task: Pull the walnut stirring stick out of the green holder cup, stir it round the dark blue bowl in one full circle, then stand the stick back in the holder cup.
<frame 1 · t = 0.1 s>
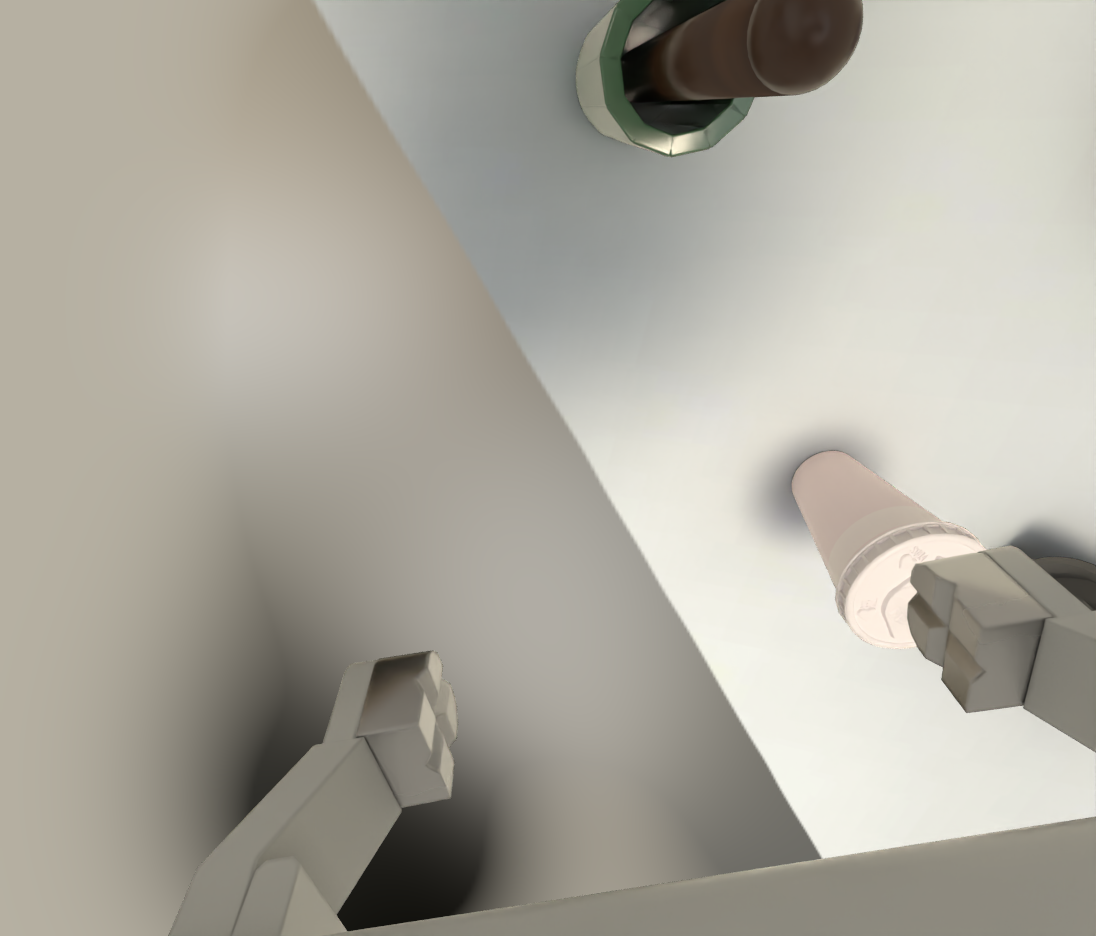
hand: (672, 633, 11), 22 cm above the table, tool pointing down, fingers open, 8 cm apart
bluetooth speaker: (1093, 630, 42), on the table
smoothie: (823, 478, 36), on the table
holder: (632, 77, 26), on the table
stick: (635, 76, 25), point 1 cm above the table, touching holder
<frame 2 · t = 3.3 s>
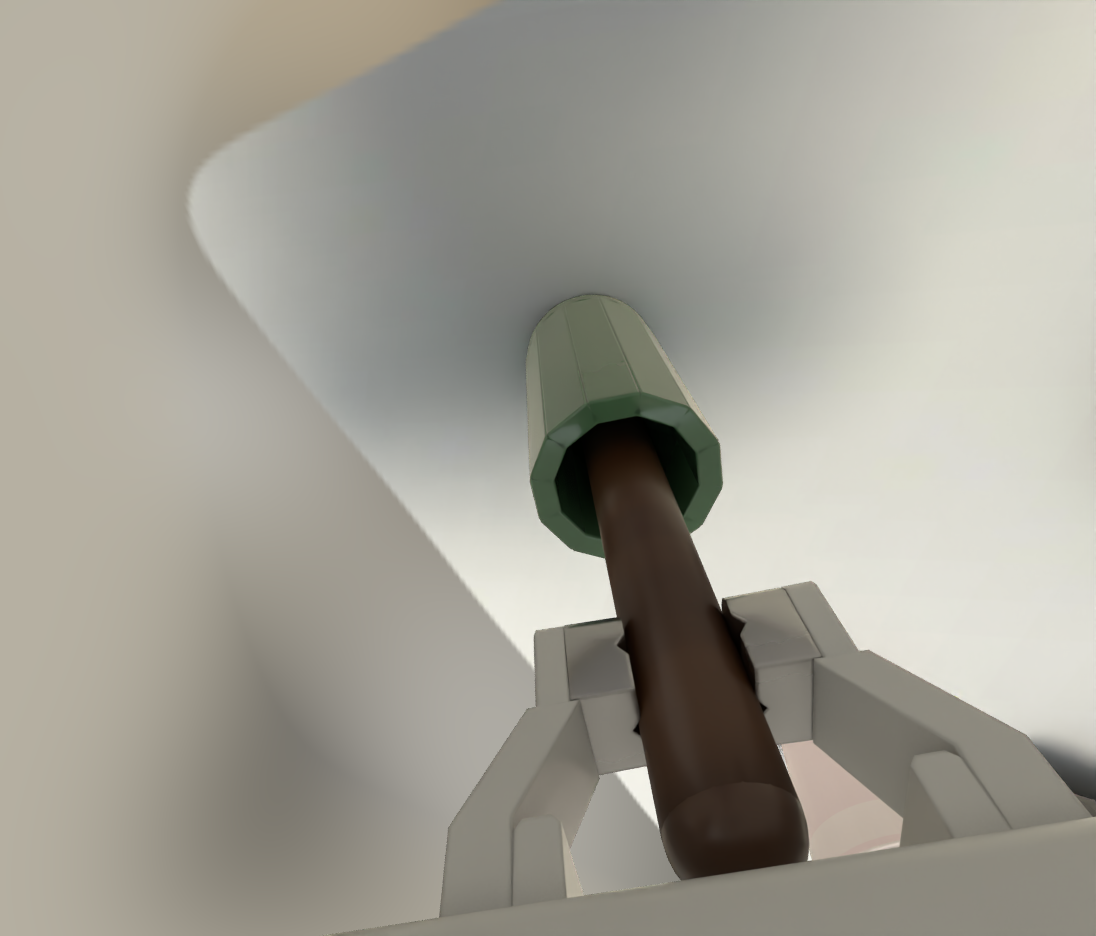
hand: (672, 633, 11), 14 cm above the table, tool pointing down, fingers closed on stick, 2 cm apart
smoothie: (807, 703, 33), on the table
holder: (590, 357, 23), on the table
stick: (591, 363, 23), point 1 cm above the table, touching gripper, holder
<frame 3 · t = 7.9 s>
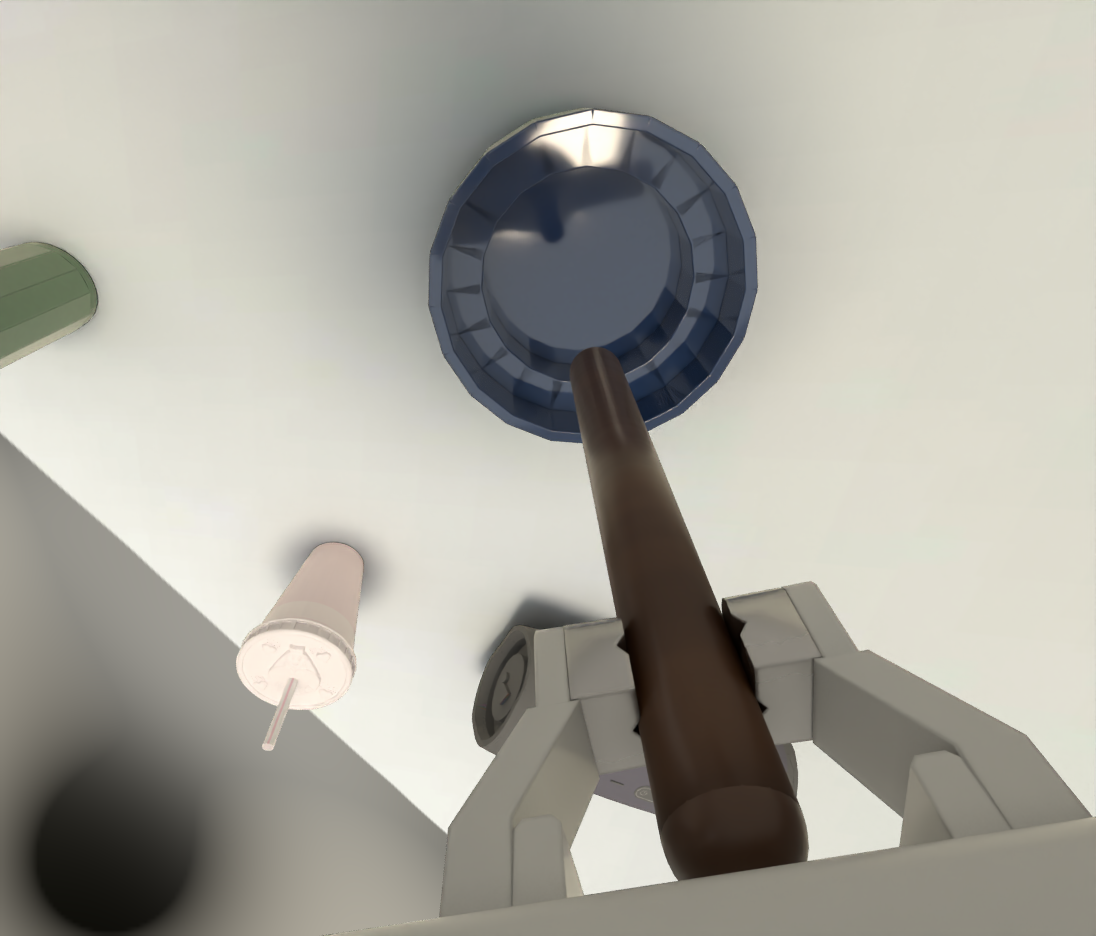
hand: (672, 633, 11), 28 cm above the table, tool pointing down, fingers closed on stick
bluetooth speaker: (626, 676, 51), on the table
smoothie: (337, 562, 44), on the table
holder: (50, 286, 34), on the table
stick: (592, 364, 23), point 14 cm above the table, touching gripper
bowl: (582, 269, 35), on the table
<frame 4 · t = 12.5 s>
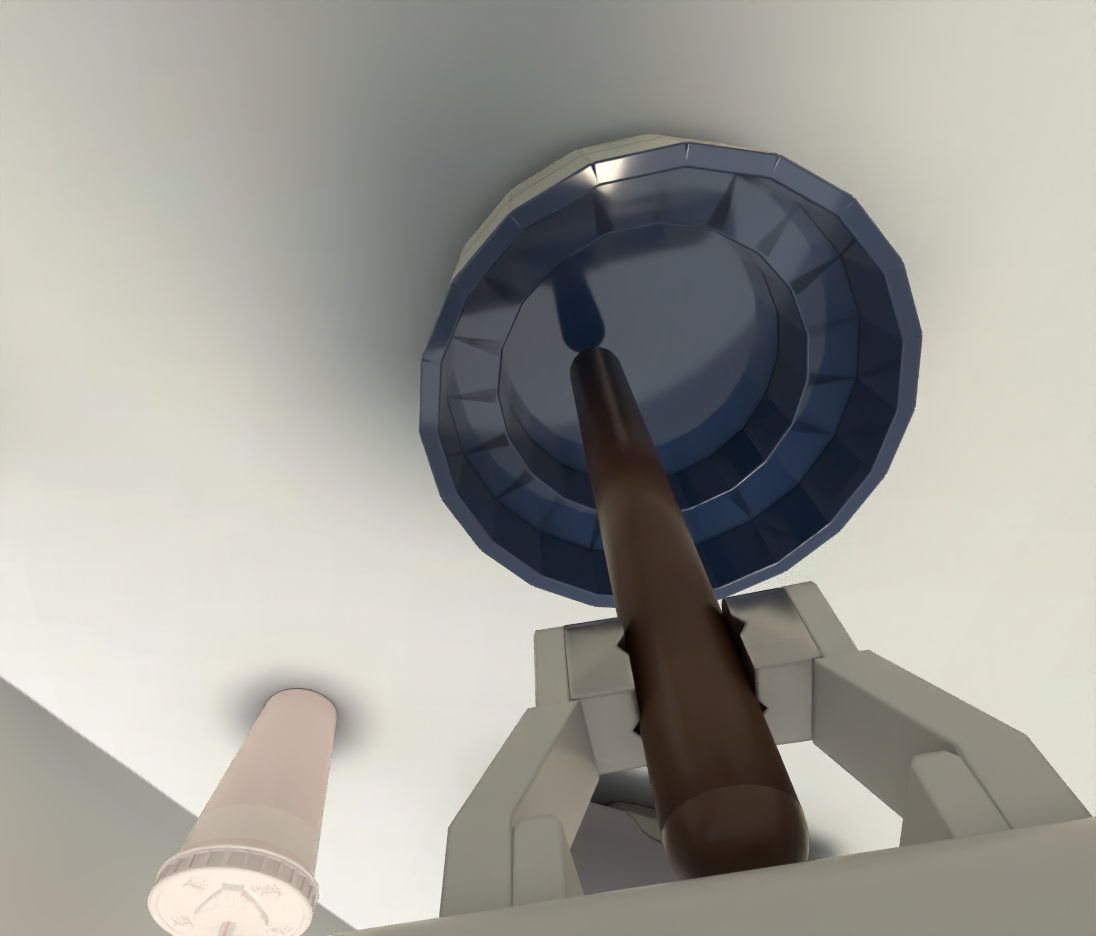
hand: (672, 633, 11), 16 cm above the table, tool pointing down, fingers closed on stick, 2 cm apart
bluetooth speaker: (667, 829, 41), on the table
smoothie: (302, 710, 34), on the table
stick: (593, 364, 23), point 2 cm above the table, touching gripper
bowl: (637, 355, 25), on the table
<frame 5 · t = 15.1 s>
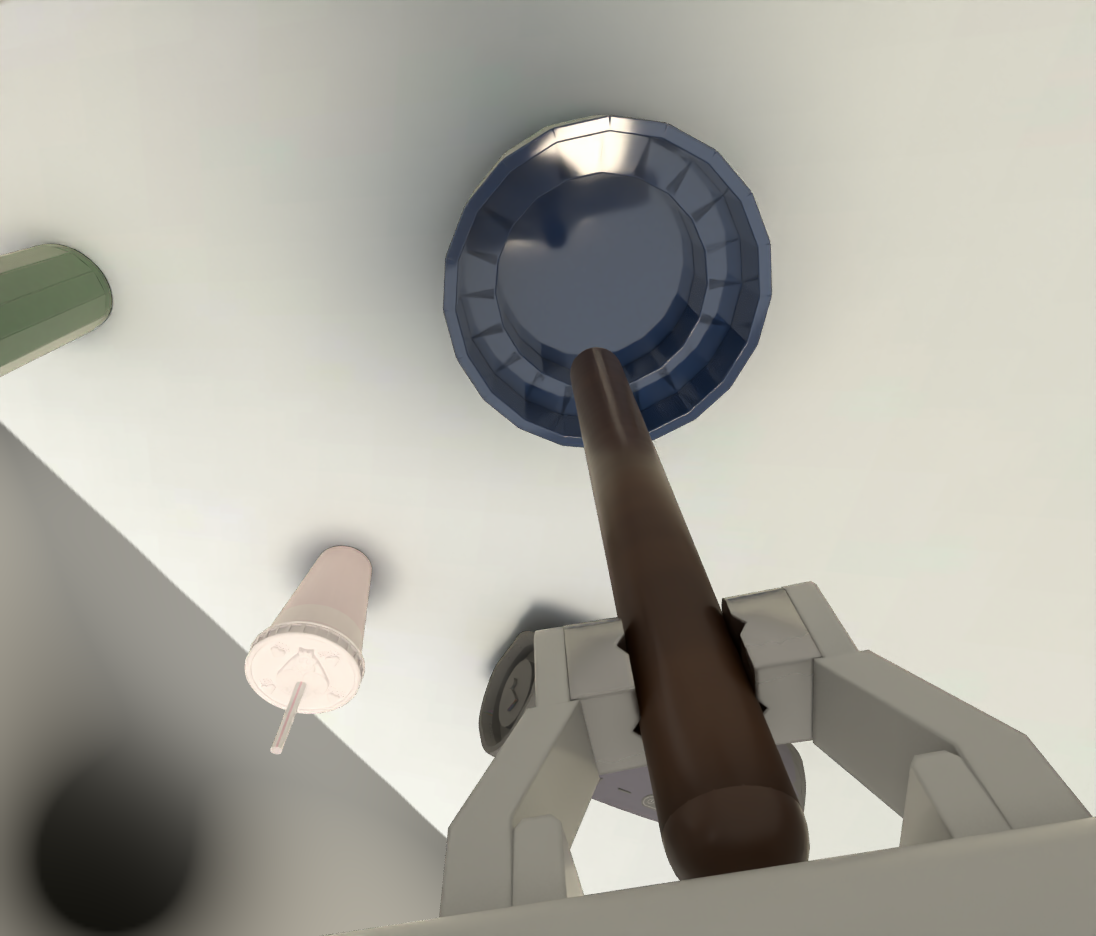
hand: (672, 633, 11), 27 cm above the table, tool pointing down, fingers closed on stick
bluetooth speaker: (633, 683, 51), on the table
smoothie: (345, 565, 44), on the table
holder: (66, 288, 34), on the table
stick: (593, 364, 23), point 14 cm above the table, touching gripper
bowl: (595, 275, 35), on the table
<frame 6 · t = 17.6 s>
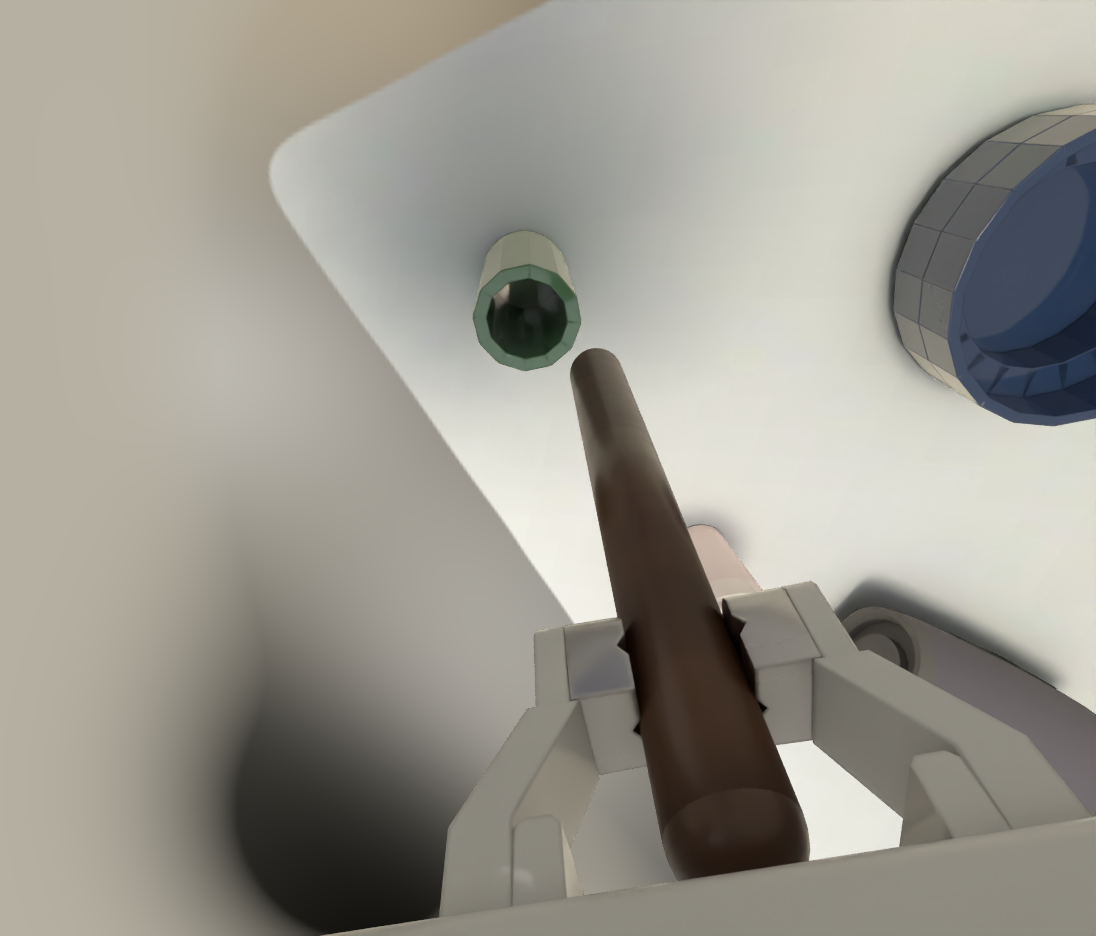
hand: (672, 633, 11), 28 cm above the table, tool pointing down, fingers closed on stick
bluetooth speaker: (931, 659, 52), on the table
smoothie: (697, 544, 46), on the table
holder: (524, 273, 36), on the table
stick: (593, 365, 23), point 15 cm above the table, touching gripper
bowl: (1023, 259, 36), on the table
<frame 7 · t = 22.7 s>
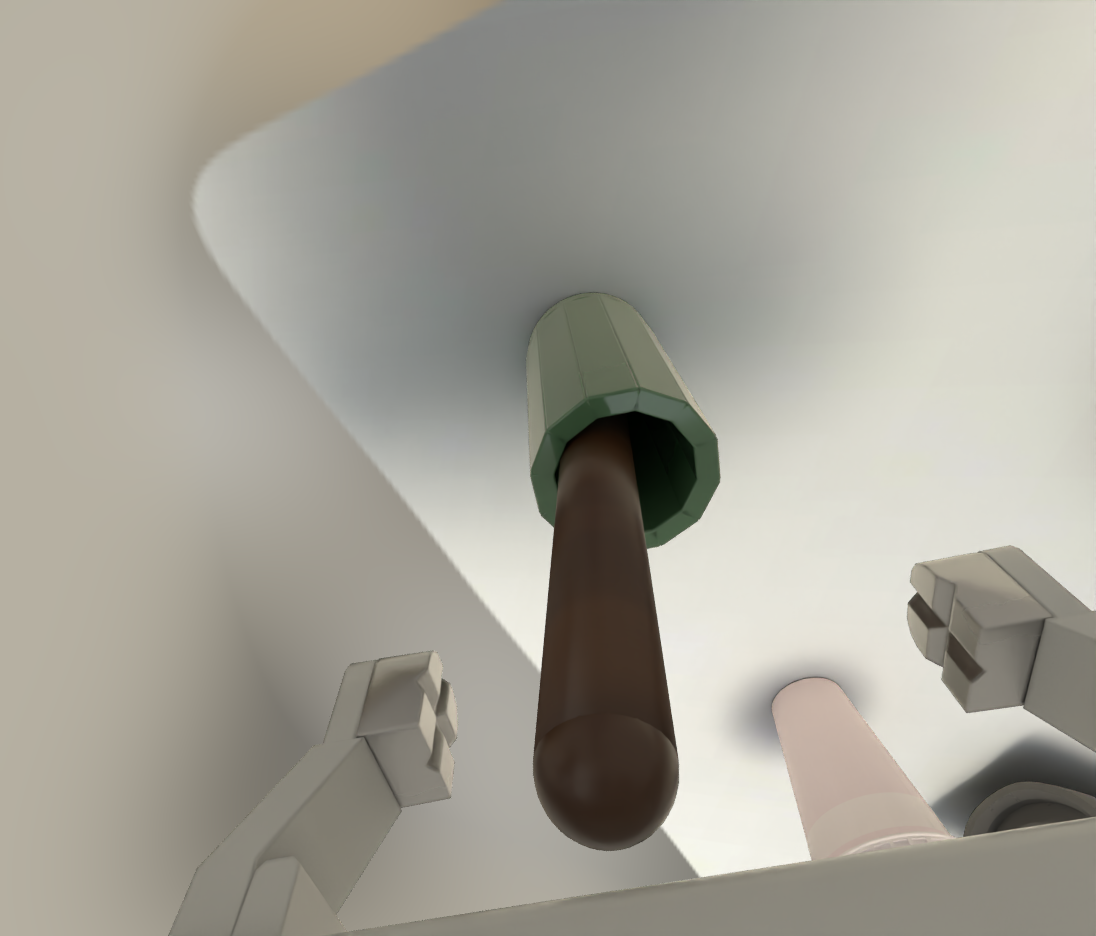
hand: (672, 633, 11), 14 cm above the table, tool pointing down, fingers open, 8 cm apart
bluetooth speaker: (1093, 823, 40), on the table
smoothie: (805, 699, 33), on the table
holder: (590, 355, 24), on the table
stick: (593, 365, 23), point 1 cm above the table, tilted 6°, touching holder
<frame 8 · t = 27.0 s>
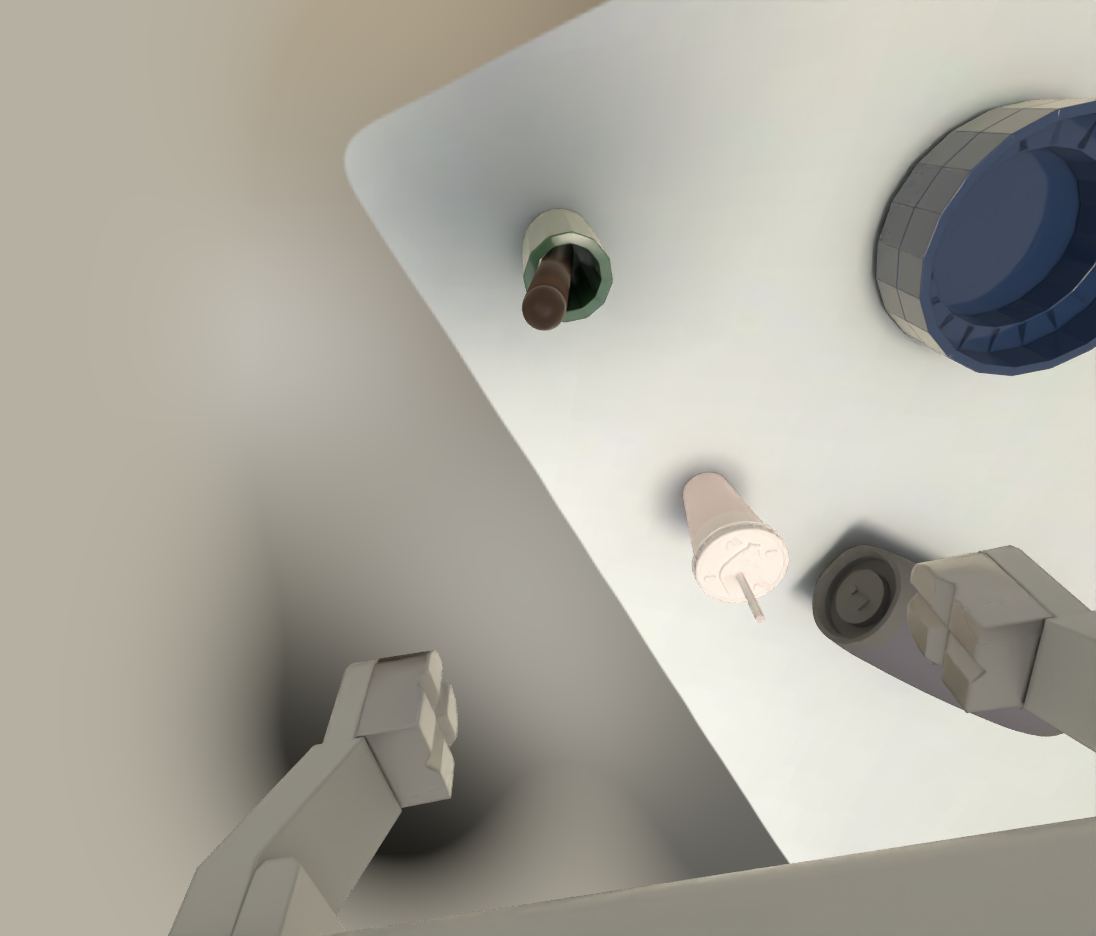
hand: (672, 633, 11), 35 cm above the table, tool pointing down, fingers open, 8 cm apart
bluetooth speaker: (915, 599, 58), on the table
smoothie: (705, 490, 51), on the table
holder: (558, 246, 42), on the table
stick: (560, 251, 41), point 1 cm above the table, tilted 6°, touching holder
bowl: (988, 233, 42), on the table
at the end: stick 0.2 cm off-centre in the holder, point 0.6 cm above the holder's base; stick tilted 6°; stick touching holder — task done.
